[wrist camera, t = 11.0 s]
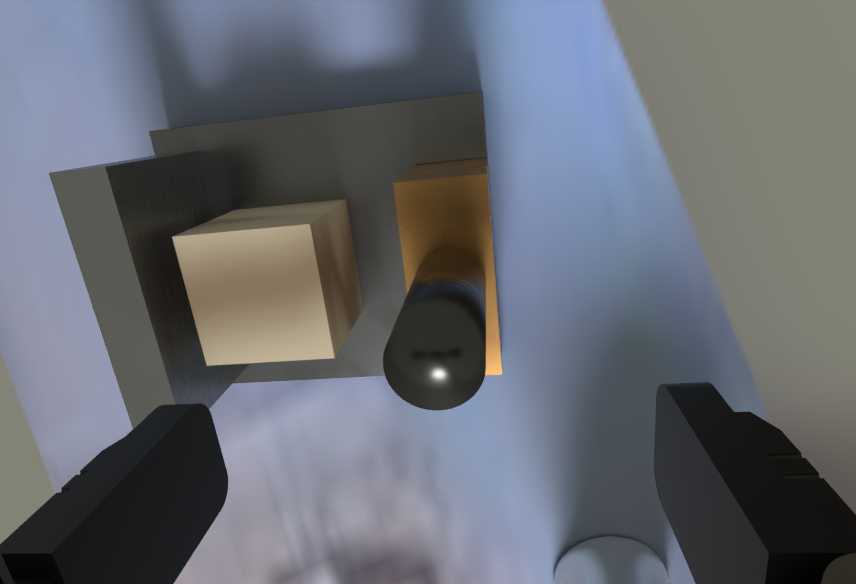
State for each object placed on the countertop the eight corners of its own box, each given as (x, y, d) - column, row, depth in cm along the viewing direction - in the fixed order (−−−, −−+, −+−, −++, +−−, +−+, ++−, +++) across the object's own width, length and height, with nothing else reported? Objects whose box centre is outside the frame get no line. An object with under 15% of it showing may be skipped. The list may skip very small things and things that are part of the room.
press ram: (499, 320, 24) (508, 488, 13) (431, 324, 24) (390, 491, 14) (486, 158, 22) (487, 210, 11) (412, 165, 22) (347, 222, 12)
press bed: (501, 355, 26) (507, 448, 19) (229, 370, 28) (143, 460, 21) (482, 92, 22) (480, 87, 15) (168, 129, 24) (38, 140, 17)
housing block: (363, 309, 24) (334, 358, 20) (259, 316, 25) (206, 365, 20) (345, 198, 23) (309, 224, 18) (234, 209, 24) (171, 236, 19)
